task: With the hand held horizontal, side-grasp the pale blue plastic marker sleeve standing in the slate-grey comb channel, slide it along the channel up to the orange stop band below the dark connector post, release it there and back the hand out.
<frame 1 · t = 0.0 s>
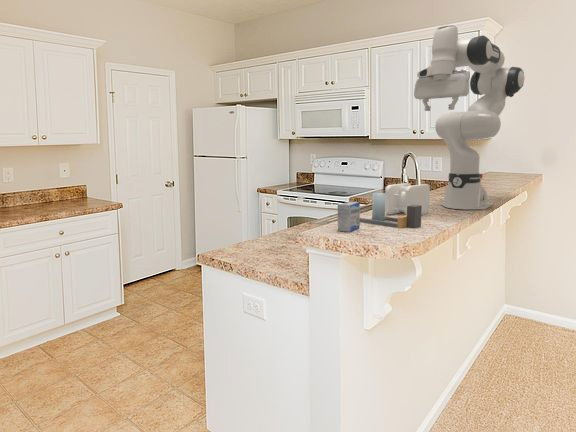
hand: (439, 110, 170), 39 cm above the table, tool pointing down, fingers open, 8 cm apart
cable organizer: (406, 215, 178), on the table
medicine box: (348, 230, 150), on the table
marker sleeve: (378, 221, 163), resting in comb channel
comb channel: (385, 222, 161), on the table
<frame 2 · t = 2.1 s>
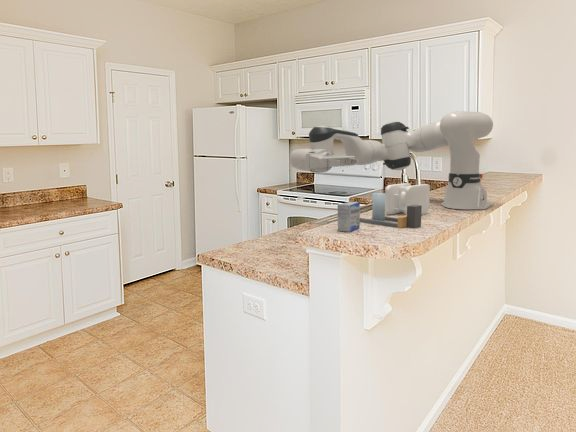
hand: (348, 162, 170), 20 cm above the table, tool horizontal, fingers open, 8 cm apart
nothing on the table moved.
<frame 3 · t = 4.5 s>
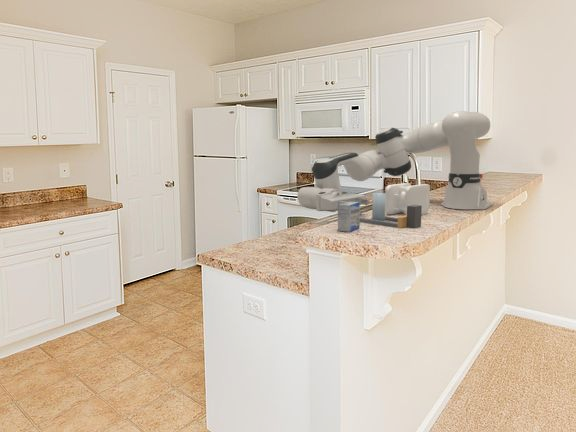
hand: (360, 203, 167), 6 cm above the table, tool horizontal, fingers open, 8 cm apart
nothing on the table moved.
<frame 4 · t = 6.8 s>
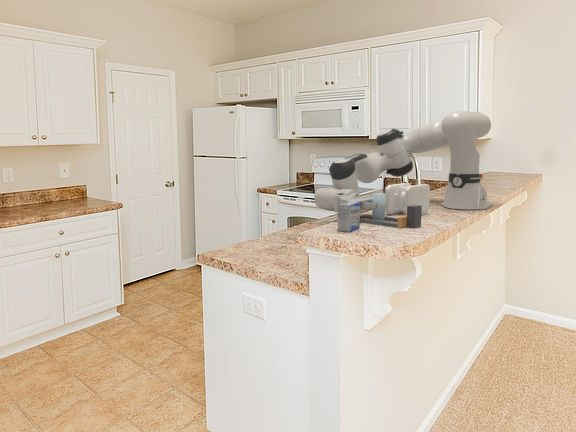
hand: (380, 204, 162), 6 cm above the table, tool horizontal, fingers closed on marker sleeve, 4 cm apart
marker sleeve: (378, 221, 163), resting in comb channel, touching gripper
everything else where it was.
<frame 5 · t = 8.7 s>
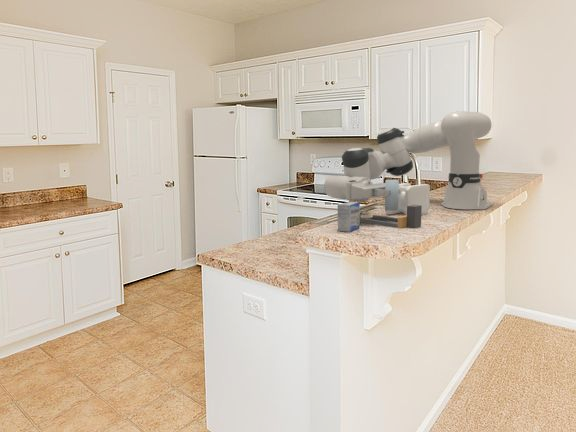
hand: (394, 192, 157), 11 cm above the table, tool horizontal, fingers closed on marker sleeve, 4 cm apart
marker sleeve: (391, 209, 159), point 5 cm above the table, touching gripper
everything else where it was.
when the fingers open (7 cm above the table, at t = 10.6 s): marker sleeve stays where it is, resting in comb channel.
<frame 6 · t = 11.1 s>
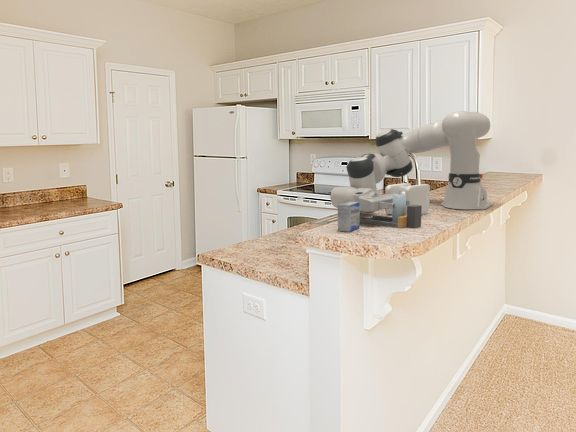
hand: (401, 204, 156), 7 cm above the table, tool horizontal, fingers open, 8 cm apart
marker sleeve: (398, 224, 157), resting in comb channel
everything else where it was.
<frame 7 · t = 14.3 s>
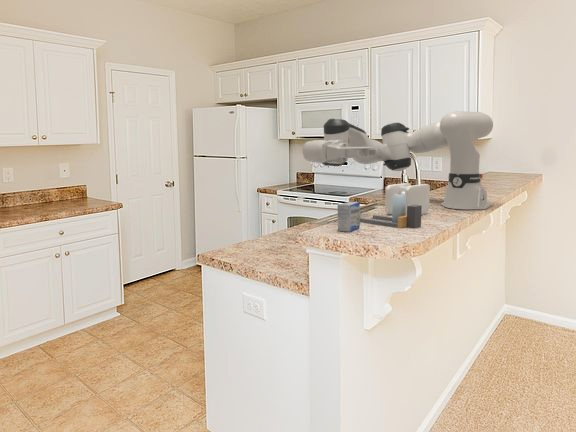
hand: (367, 152, 163), 24 cm above the table, tool horizontal, fingers open, 8 cm apart
nothing on the table moved.
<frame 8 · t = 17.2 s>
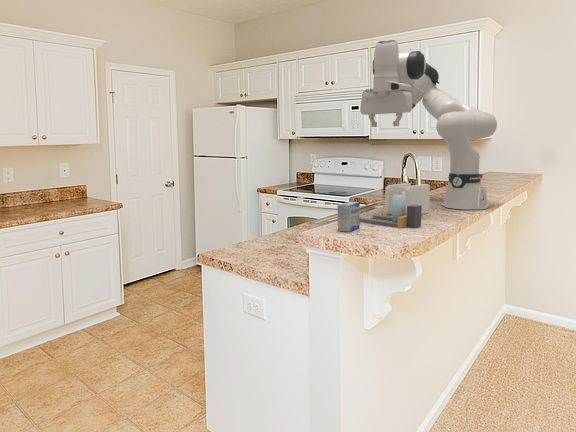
hand: (384, 126, 168), 33 cm above the table, tool pointing down, fingers open, 8 cm apart
nothing on the table moved.
at the end: marker sleeve 0.1 cm from the target spot, resting in comb channel; marker sleeve tilted 0°; the gripper is holding nothing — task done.
